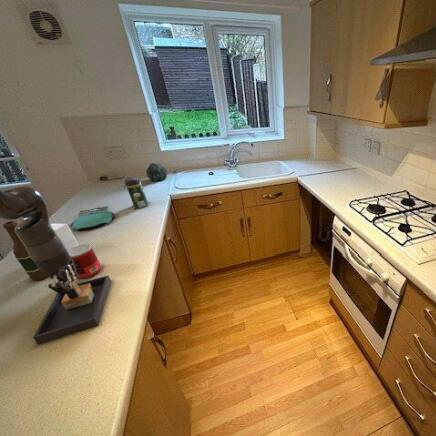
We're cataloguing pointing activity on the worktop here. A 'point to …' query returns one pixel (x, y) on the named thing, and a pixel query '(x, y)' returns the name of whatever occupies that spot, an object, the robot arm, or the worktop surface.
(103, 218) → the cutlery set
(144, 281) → the worktop surface
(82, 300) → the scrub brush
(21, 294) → the worktop surface
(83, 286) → the orange brown wooden block
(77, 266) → the canned food
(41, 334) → the tray
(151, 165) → the squash
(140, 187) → the coffee jar
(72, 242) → the small box
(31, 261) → the beer bottle
